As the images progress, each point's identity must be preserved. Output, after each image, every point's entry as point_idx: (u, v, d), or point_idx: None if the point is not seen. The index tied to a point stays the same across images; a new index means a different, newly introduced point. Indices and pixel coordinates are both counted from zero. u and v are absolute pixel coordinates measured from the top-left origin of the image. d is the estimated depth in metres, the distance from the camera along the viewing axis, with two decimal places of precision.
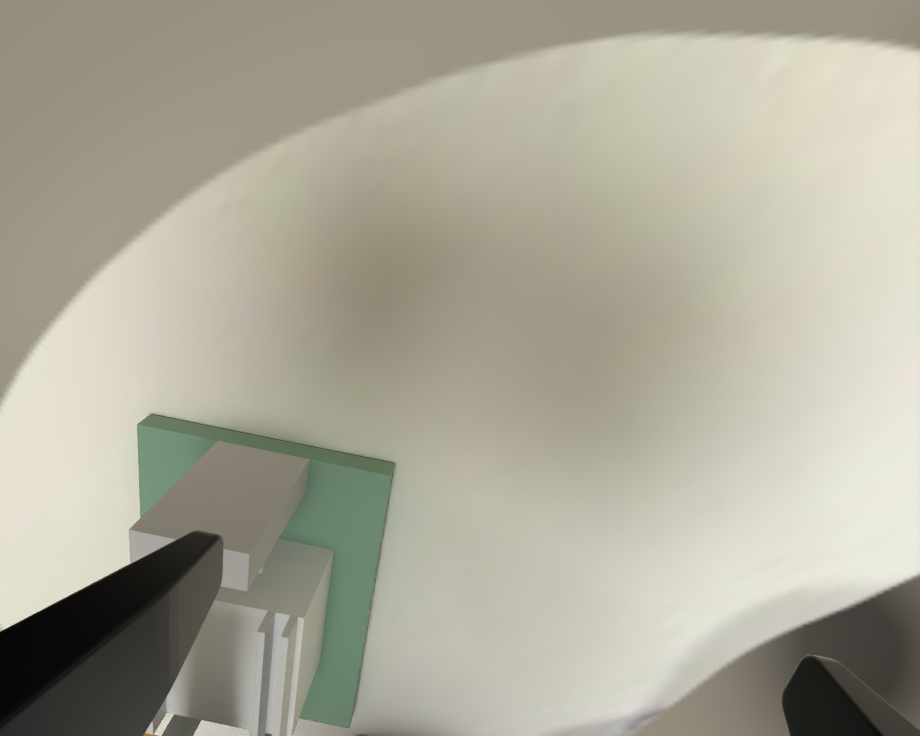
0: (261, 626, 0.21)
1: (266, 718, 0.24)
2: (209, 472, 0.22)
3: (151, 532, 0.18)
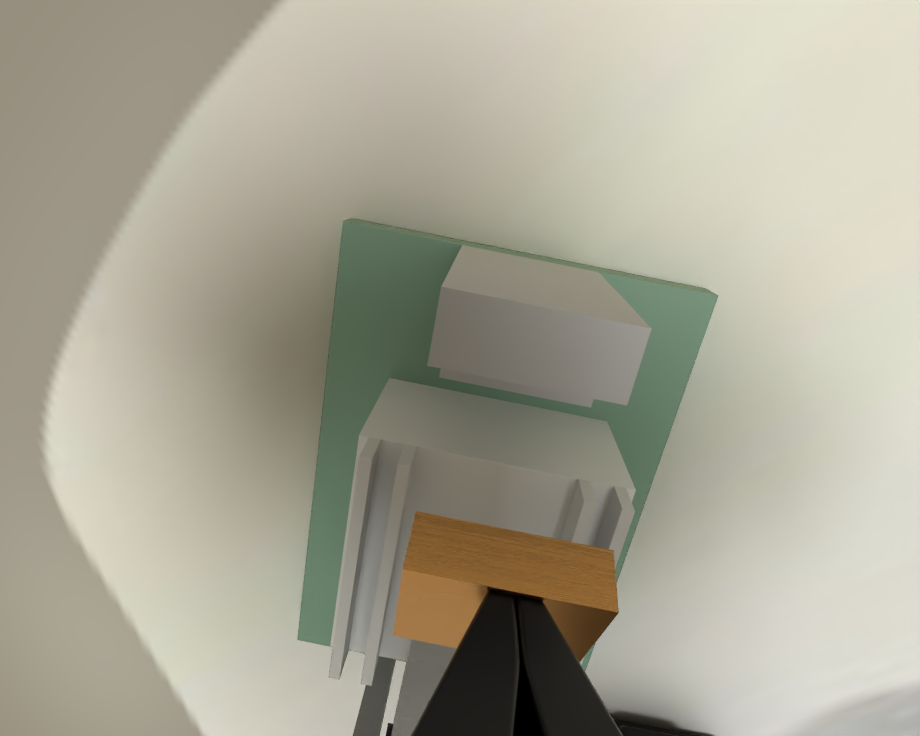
0: (585, 495, 0.13)
1: None
2: (486, 262, 0.14)
3: (476, 294, 0.10)
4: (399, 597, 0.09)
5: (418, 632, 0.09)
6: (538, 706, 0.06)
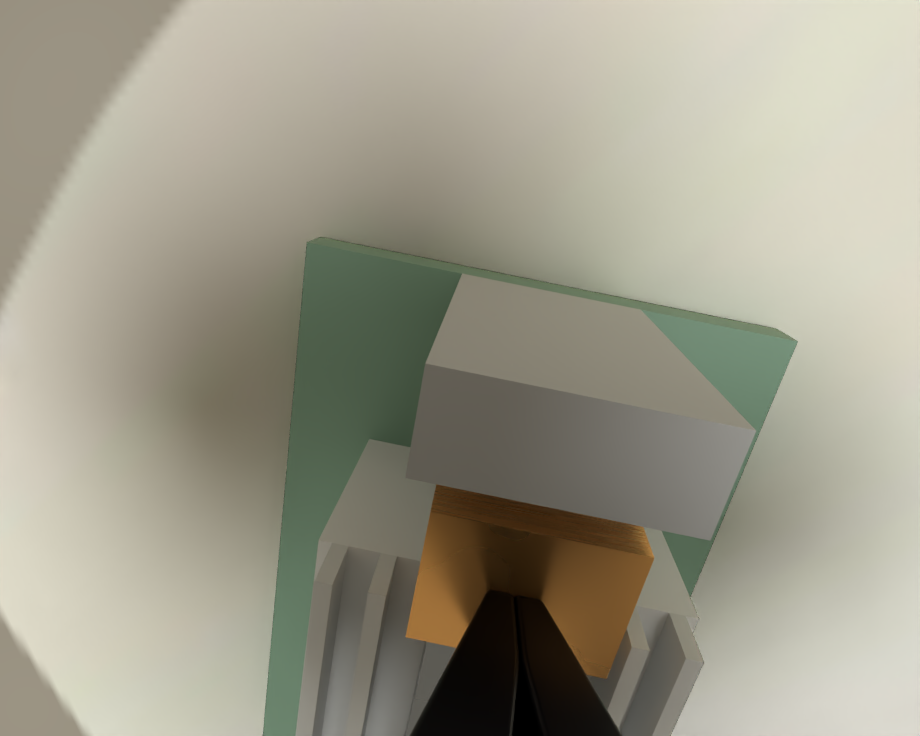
0: (632, 635, 0.09)
1: None
2: (494, 303, 0.10)
3: (480, 374, 0.07)
4: (421, 562, 0.08)
5: (436, 626, 0.09)
6: (538, 706, 0.06)
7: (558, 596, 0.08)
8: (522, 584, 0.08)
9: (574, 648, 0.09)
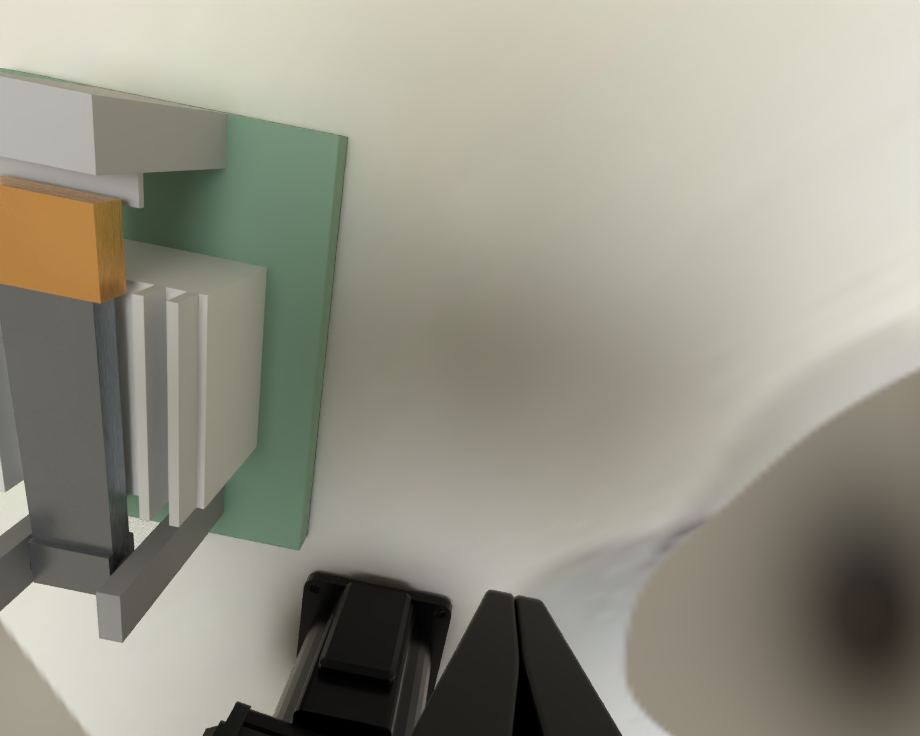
0: (140, 291, 0.14)
1: (167, 476, 0.17)
2: (71, 84, 0.15)
3: None
4: None
5: None
6: (537, 706, 0.06)
7: (49, 238, 0.13)
8: (26, 229, 0.13)
9: (73, 279, 0.13)
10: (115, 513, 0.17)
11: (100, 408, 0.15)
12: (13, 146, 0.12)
